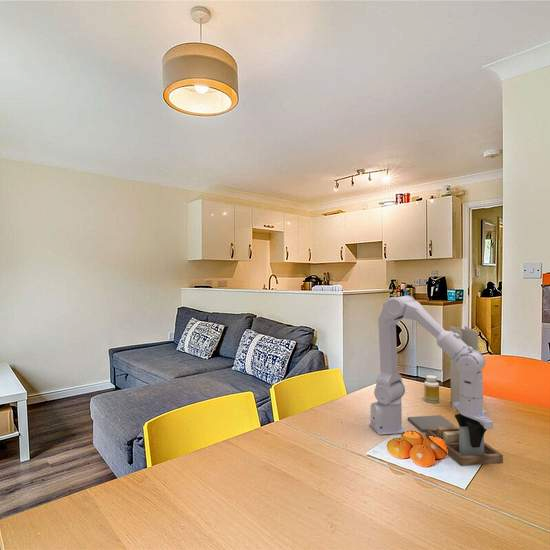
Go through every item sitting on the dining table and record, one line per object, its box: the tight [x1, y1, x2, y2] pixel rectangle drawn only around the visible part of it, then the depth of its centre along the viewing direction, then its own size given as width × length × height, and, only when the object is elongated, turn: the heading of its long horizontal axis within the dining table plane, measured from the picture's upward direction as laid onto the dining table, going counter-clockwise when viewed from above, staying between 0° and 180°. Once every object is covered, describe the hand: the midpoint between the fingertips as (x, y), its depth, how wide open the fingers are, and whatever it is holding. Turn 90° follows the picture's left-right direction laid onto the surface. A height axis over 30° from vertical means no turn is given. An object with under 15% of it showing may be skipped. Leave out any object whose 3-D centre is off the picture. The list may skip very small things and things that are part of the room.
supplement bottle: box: [423, 374, 440, 404], centre depth 144 cm, size 5×5×10 cm
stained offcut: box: [437, 425, 460, 439], centre depth 111 cm, size 8×2×4 cm, turn 96°
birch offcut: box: [443, 431, 459, 443], centre depth 107 cm, size 8×2×4 cm, turn 96°
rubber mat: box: [407, 414, 456, 434], centre depth 122 cm, size 12×10×1 cm
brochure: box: [449, 325, 479, 413], centre depth 135 cm, size 14×6×30 cm, turn 168°
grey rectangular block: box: [458, 426, 485, 456], centre depth 101 cm, size 6×2×8 cm, turn 96°
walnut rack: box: [425, 428, 504, 467], centre depth 106 cm, size 12×18×2 cm, turn 6°
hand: (471, 443), depth 101 cm, fingers open, 3 cm apart
